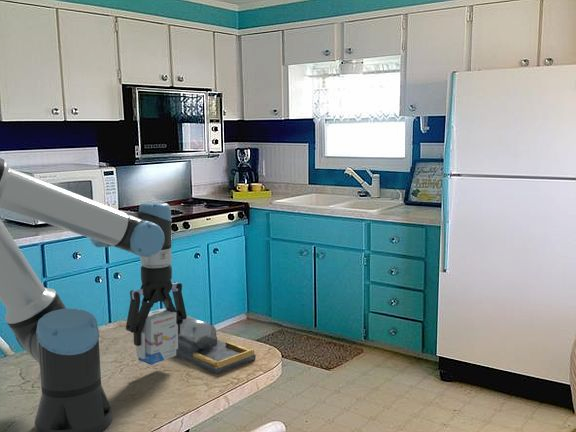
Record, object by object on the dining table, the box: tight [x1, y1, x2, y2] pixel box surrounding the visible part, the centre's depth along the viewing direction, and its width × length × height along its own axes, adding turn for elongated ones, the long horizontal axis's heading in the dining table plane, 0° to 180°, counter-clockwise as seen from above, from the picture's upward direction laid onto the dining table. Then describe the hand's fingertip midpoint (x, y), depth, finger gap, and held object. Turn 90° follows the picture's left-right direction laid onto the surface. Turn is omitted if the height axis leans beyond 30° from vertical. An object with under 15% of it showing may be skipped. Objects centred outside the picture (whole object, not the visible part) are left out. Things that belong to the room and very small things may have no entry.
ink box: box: [137, 308, 177, 365], centre depth 149 cm, size 9×5×12 cm, turn 143°
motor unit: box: [175, 315, 257, 375], centre depth 161 cm, size 13×24×8 cm, turn 46°
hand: (157, 352), depth 149 cm, fingers closed on ink box, 9 cm apart
